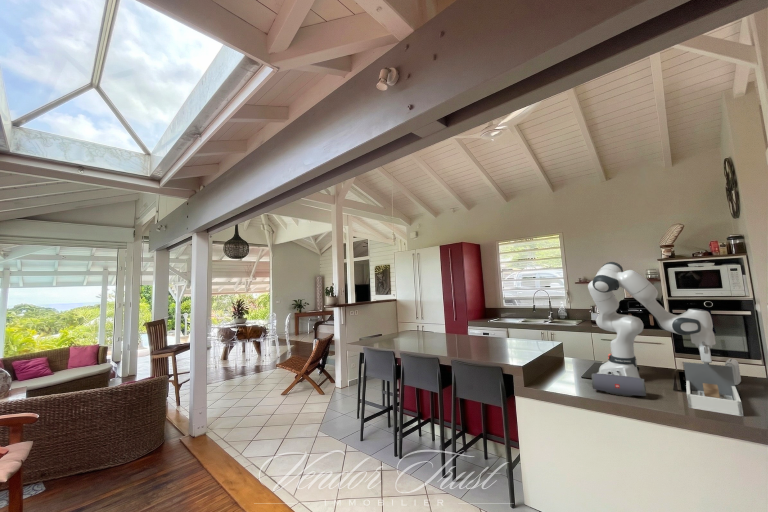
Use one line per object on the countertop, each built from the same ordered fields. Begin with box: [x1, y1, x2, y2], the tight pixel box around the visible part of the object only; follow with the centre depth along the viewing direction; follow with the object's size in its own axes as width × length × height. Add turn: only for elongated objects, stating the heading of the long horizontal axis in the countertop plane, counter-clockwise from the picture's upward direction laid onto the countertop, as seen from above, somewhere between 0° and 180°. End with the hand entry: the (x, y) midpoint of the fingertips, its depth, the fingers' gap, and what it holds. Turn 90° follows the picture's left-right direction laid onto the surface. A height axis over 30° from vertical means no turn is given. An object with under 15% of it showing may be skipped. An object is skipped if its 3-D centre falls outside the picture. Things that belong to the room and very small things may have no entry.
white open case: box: [682, 361, 736, 400], centre depth 151 cm, size 17×23×15 cm
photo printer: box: [724, 358, 742, 386], centre depth 170 cm, size 10×4×12 cm, turn 123°
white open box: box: [685, 380, 745, 417], centre depth 149 cm, size 17×22×6 cm
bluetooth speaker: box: [591, 372, 647, 397], centre depth 168 cm, size 23×9×10 cm, turn 50°
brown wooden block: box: [703, 383, 720, 398], centre depth 151 cm, size 5×7×6 cm
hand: (707, 367), depth 160 cm, fingers closed
